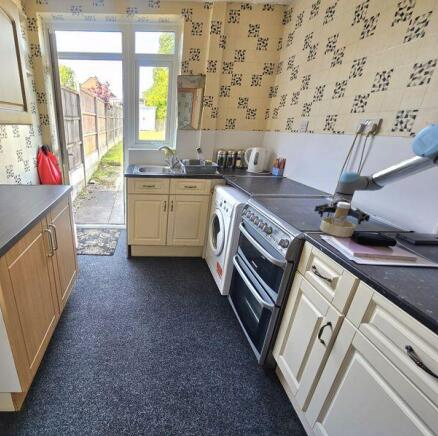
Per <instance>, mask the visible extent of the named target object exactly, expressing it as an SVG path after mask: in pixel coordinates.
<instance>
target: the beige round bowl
mask: <svg viewBox="0 0 438 436" xmlns="http://www.w3.org/2000/svg"><path fill="white" fill-rule="evenodd" d="M333 218H334V217H332V216H331V217H329V216H326V217H322V218H321V221H320V224H319V230H320V231H321V232H322V233H324V234H327V235H328V236H332V237H337V238H350V237H352V236H353V235H354V233H355V229H356V226H357V225H356V224H355V223H354V222H352V221H349V220H347V219H346V220H345V223H344V226H343V227H341V226H336V225H333V224H332V221H333ZM352 234H353V235H352Z"/></svg>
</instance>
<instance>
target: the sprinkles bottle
mask: <svg viewBox="0 0 438 436" xmlns="http://www.w3.org/2000/svg"><path fill="white" fill-rule="evenodd" d="M350 206H351V207H352V203H351V204H350V203H346V202H338V204H337V209H336V212H335V213H333V214H334V215H333V217H332V218H333V221H332V224H333V225H336V226H341V227H343V226H344V223H345V220H347V217H348V216H347V214H348V210H349V208H350Z"/></svg>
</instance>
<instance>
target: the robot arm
mask: <svg viewBox="0 0 438 436" xmlns="http://www.w3.org/2000/svg"><path fill="white" fill-rule="evenodd" d="M411 149H412V152H413V154H414V155H412V156H410V157H408V158H406V159H403V160H401V161H398V162H397V163H394V164H392V165H390V166H387V167H385V168H383V169H380V170H378V171H375V172H373V173H372V174H369V175H361V174H360V173H359V172H356V171H343V172H341V175H340V177H339V179H338V183H337V187H336V190H335V193H334V197H333V199H332V204H331V205H329V204H328V203H324V204H320V205H315V207H314V212H316V213H318V215H319V217H320V218H323V216H324V213H331V214H335V212H336V209H337V204H338V202H346V203H350V204H351V206H350V208H349V210H348V213H347V217H352V218H355V219H357V225H359V226H361V225H362V222H369V220H370V217H371V214H368V213H366V212H364V211H362V210H361V209H360V208H356V209H354V208H352V200H353V198H354V196H355V192H356V191H360V192H361V191H363V192H364V191H366V192H367V191H368V192H374V191H380V190H382V189H383V188H384V187H385V186H387V185H390V184H392V183H394V182H397V181H400V180H404V179H405V178H409V177H411V176H414V175H416V174H419V173H421V172H424V171H427V170H429V169H432V168H435V167H437V168H438V123H433V124H430V125H428V126H425V127H424V128H422V129H421V130H420V131H419V132H418V133H416V135H415V136H414V138H413V142H412V143H411Z"/></svg>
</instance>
